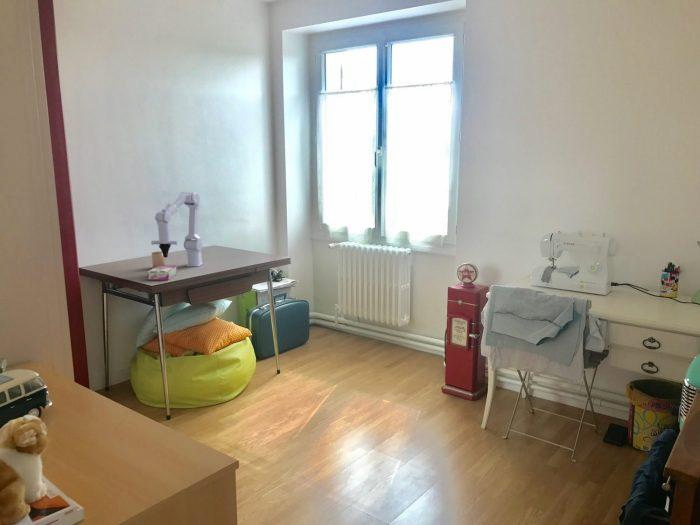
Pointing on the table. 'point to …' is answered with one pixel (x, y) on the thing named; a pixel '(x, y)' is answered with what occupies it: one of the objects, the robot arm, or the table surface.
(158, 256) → the terracotta pencil cup
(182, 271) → the table surface
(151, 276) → the candy bar box
